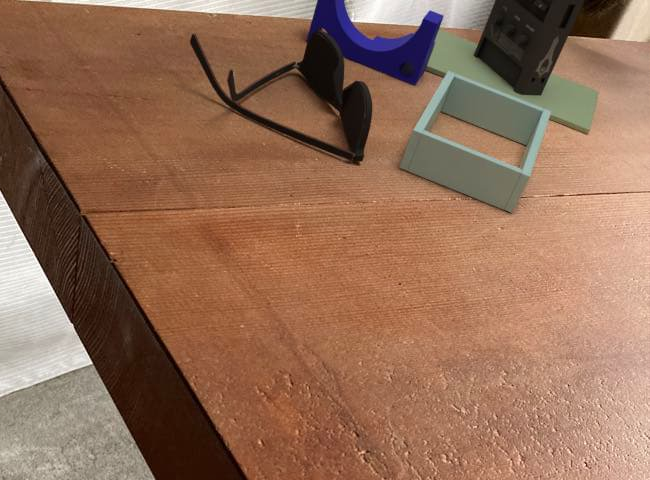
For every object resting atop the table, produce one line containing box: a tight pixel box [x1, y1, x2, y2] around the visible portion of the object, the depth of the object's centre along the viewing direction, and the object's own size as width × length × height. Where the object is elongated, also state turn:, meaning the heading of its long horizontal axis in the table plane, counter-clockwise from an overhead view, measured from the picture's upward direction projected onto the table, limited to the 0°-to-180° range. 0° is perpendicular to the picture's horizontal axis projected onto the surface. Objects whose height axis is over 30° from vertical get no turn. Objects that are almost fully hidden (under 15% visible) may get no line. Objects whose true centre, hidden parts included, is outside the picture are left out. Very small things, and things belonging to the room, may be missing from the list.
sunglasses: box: [189, 30, 373, 162], centre depth 85 cm, size 17×14×5 cm
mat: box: [425, 28, 600, 135], centre depth 106 cm, size 20×12×1 cm, turn 70°
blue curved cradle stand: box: [305, 0, 444, 86], centre depth 99 cm, size 12×4×6 cm, turn 69°
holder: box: [398, 71, 551, 214], centre depth 89 cm, size 11×16×4 cm, turn 160°
